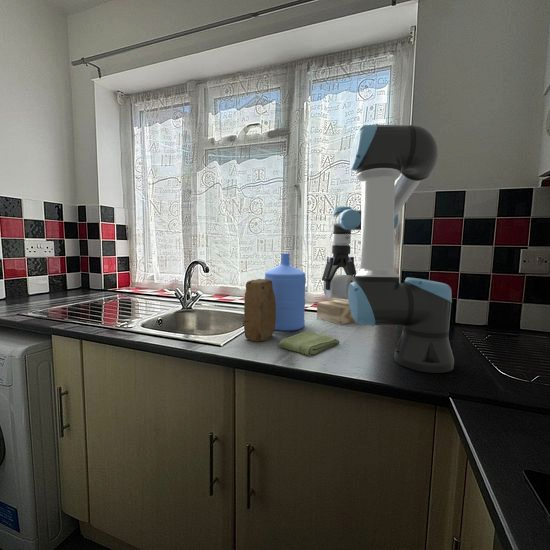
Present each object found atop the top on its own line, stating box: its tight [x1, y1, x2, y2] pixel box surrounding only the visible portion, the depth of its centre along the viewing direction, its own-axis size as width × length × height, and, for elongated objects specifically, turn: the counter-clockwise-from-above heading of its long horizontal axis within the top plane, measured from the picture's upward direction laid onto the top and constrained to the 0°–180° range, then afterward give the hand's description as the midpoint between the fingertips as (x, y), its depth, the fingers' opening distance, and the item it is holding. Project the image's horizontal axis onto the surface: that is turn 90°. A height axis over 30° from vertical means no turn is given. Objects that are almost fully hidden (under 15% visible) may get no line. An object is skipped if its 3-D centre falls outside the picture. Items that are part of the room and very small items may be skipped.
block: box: [243, 278, 276, 342], centre depth 112 cm, size 11×8×20 cm
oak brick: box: [316, 299, 355, 325], centre depth 142 cm, size 13×13×7 cm
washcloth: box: [278, 330, 340, 357], centre depth 106 cm, size 13×18×3 cm
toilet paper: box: [323, 273, 355, 300], centre depth 141 cm, size 10×10×10 cm
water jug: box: [264, 253, 307, 332], centre depth 128 cm, size 16×16×28 cm
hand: (339, 296), depth 141 cm, fingers closed on toilet paper, 11 cm apart
